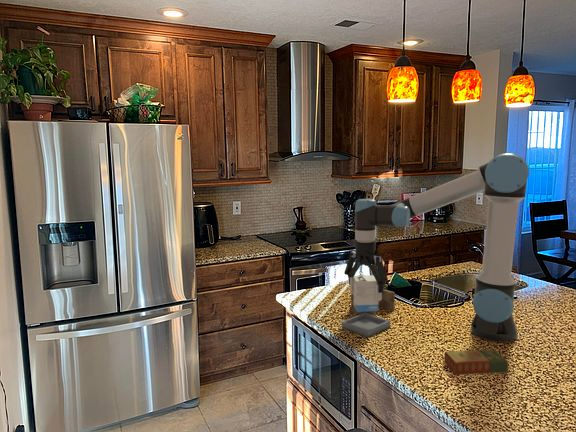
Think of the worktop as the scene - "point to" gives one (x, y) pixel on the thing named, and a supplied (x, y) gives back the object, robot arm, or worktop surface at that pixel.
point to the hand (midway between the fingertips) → (365, 296)
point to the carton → (475, 362)
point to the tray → (366, 324)
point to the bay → (385, 303)
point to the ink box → (365, 293)
